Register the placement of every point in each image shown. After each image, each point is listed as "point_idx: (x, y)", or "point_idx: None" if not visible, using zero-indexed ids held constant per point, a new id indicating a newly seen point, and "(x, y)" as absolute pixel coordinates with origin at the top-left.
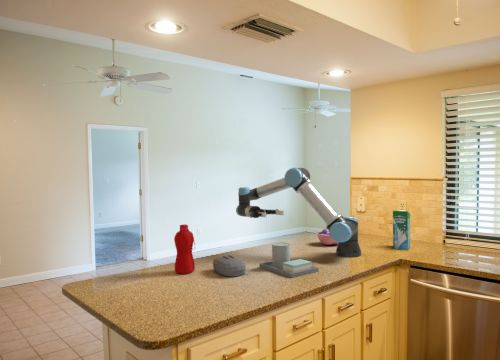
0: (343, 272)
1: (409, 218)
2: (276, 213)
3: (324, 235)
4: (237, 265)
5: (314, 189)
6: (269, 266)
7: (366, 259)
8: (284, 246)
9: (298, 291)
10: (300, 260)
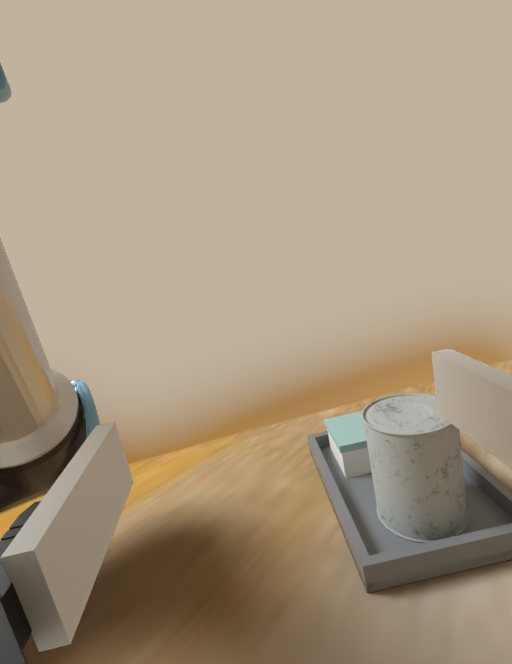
0: (240, 448)
1: None
2: (72, 594)
3: None
4: None
5: None
6: (487, 472)
7: None
8: (401, 397)
9: (427, 386)
10: (350, 434)
